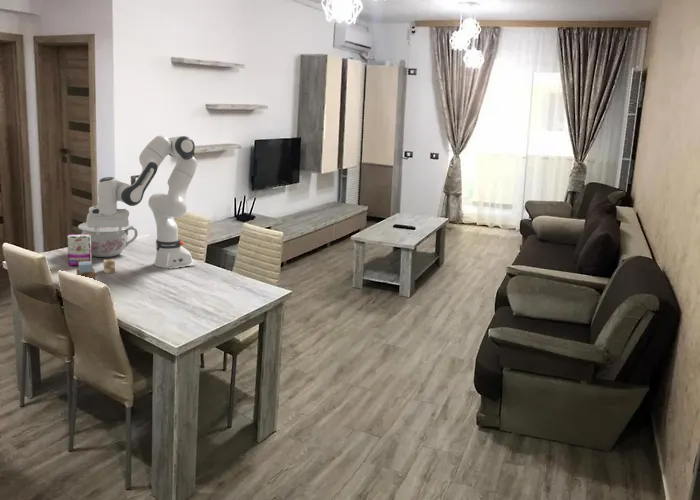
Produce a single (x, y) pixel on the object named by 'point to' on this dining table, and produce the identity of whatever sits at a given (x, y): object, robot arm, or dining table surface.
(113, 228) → the chamber pot
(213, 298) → the dining table surface
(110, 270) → the maple block
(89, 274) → the walnut block
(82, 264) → the slate block
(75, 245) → the candy bar box
